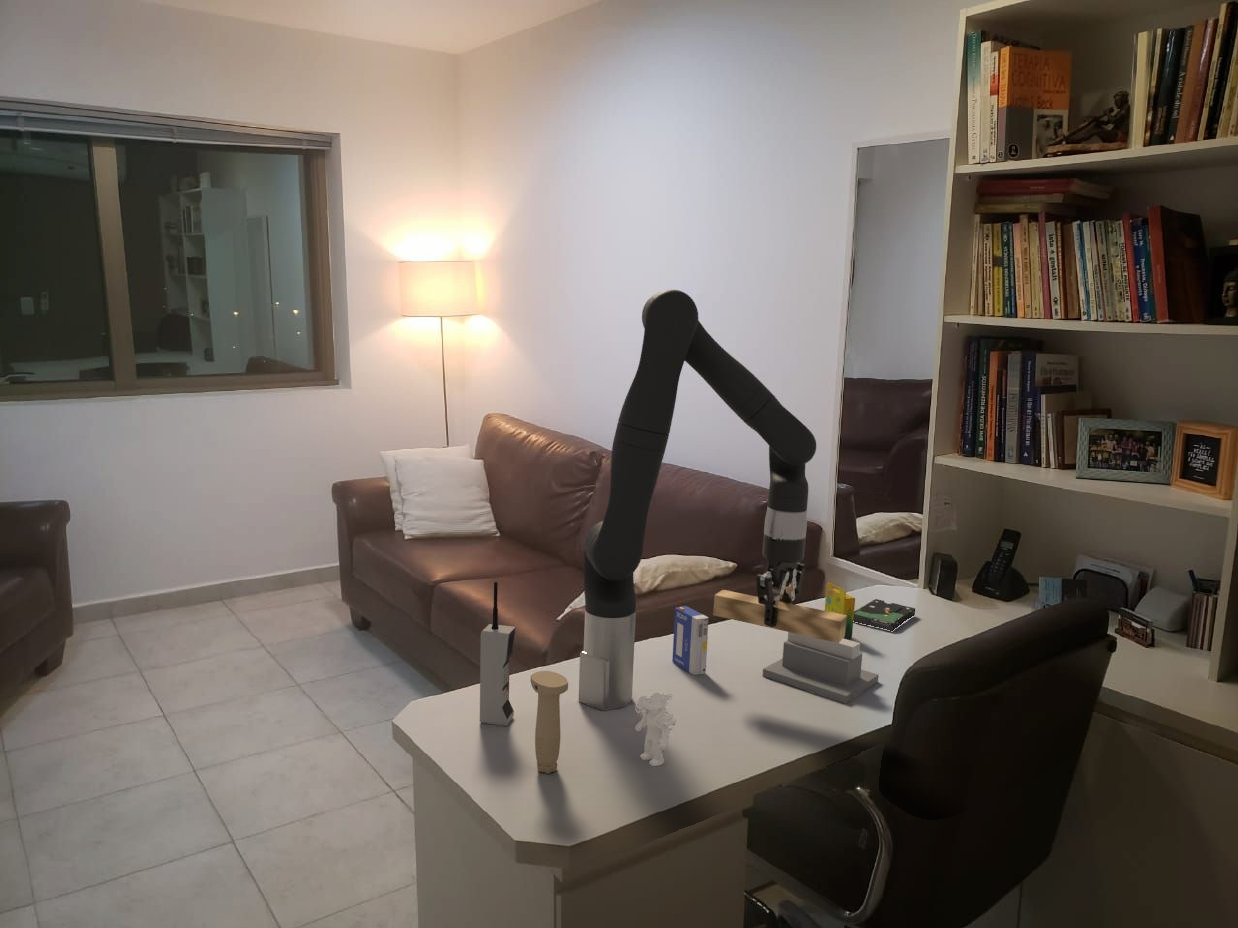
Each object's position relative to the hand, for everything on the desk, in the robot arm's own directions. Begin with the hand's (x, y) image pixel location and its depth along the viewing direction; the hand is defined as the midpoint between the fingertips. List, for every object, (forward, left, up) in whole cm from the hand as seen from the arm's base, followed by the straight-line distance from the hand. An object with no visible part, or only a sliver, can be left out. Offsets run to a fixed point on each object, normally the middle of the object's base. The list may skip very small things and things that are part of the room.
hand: (777, 621), depth 171 cm
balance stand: (+15, -2, -15) cm, 22 cm away
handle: (-48, +12, -15) cm, 52 cm away
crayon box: (+40, +7, -15) cm, 44 cm away
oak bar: (0, 0, -1) cm, 1 cm away
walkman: (+1, +20, -15) cm, 25 cm away
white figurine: (-34, +2, -15) cm, 37 cm away
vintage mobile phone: (-42, +30, -15) cm, 54 cm away
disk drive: (+58, +4, -16) cm, 61 cm away
